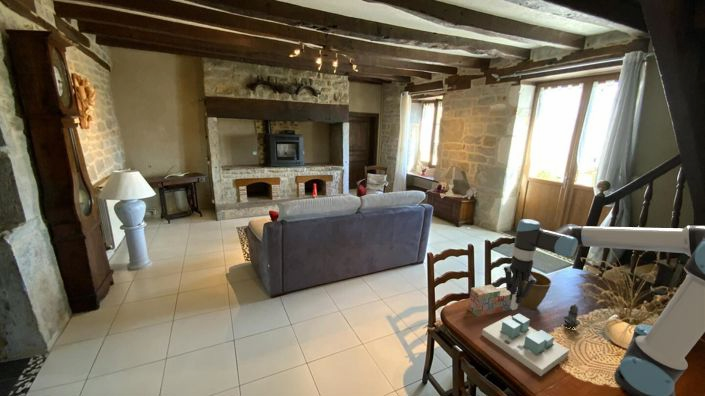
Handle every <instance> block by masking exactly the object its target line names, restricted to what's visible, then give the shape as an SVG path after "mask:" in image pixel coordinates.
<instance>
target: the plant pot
mask: <svg viewBox="0 0 705 396" xmlns="http://www.w3.org/2000/svg"><path fill="white" fill-rule="evenodd" d="M531 272H532V276H533V277H534V278H536V279H537V282H535V283H534V284H533V286H532V288H531V290H530V292H529V293H528V295H527V296H526V297H524V298H522V297H521V302H520V303H519V304H521V306H522V307H524V308H526V309H528V310H536V309H537V308H538V307H539V306H540V305H541V304H542V302H543V300H544V299H545V297H546V296H547V294H548V291H549V290H550V287H551V285H552V280H551V279H550V278H549V277H548V276H546V275H544V274H542V273H541V272H536V271H533V270H531ZM528 280H529V277H528V278H527V279H526V281H525V284H524V289H525V287H526V285H527V283H528V282H529V281H528ZM518 283H519V281H518ZM517 288H518V286H517ZM523 291H524V290H523Z"/></svg>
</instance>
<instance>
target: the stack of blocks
mask: <svg viewBox="0 0 705 396" xmlns="http://www.w3.org/2000/svg"><path fill="white" fill-rule="evenodd" d="M510 294H511V293H510V291H509V290H507V289H506V287H498V288H497V287H495V286H494V285H492V284H487V285H483V286H482V285H481V286H477V287H475V286H474V287H471V288H470V293H469V299H468V301H469V302H468V310H469V312H471V313H472V314H473V315H474V316H475V317H481V316H486V315H493V314H495V313H501V312H507V311H511V310H512V309H510V306H511V300H510ZM512 311H513V310H512Z"/></svg>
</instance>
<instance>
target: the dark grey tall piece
mask: <svg viewBox="0 0 705 396" xmlns="http://www.w3.org/2000/svg"><path fill="white" fill-rule="evenodd" d="M567 312H568V315H566V316H564V317H563V320H564V323H563V324H562V326H563V327H564V326H565V327H567V328H570V327H571V328H570V329H572V328H573V327H576V328H577V327H578V326H579V325H580V321H579V320H578V318H577V317H578V315H579V313H578V312H579V307H578V306H577V304H572V305H570V308H569V310H568V311H567ZM565 327H564V328H565ZM567 328H566V329H567ZM573 329H574V328H573Z"/></svg>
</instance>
